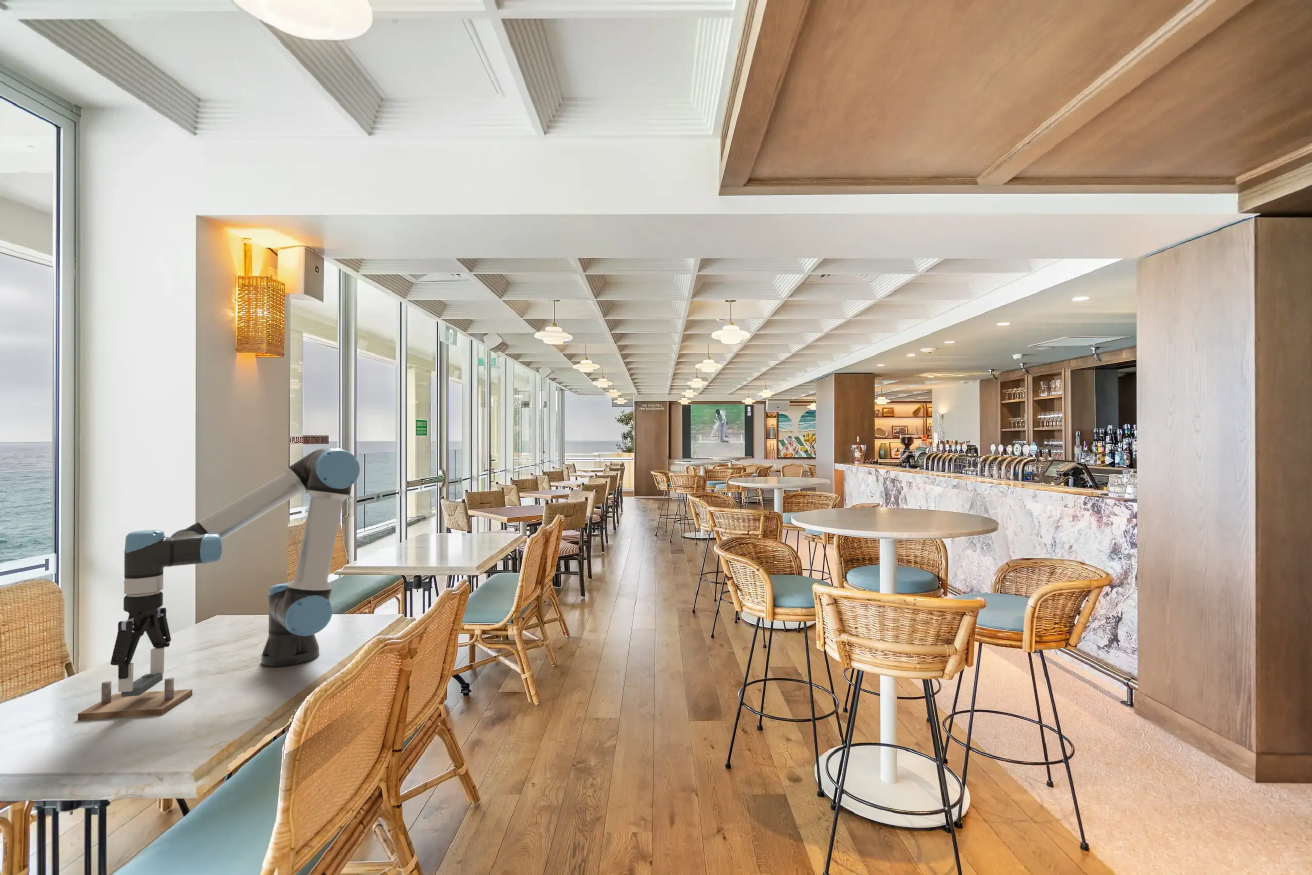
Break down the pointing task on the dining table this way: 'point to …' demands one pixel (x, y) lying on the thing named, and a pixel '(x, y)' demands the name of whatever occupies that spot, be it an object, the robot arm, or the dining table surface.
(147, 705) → the mount
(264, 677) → the dining table surface
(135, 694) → the dark grey block
